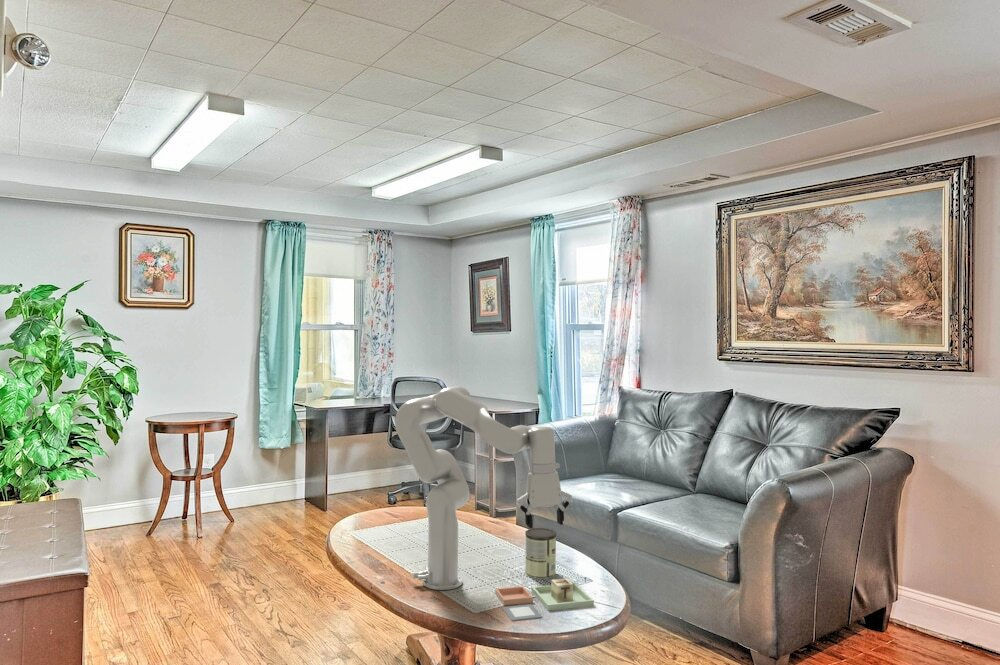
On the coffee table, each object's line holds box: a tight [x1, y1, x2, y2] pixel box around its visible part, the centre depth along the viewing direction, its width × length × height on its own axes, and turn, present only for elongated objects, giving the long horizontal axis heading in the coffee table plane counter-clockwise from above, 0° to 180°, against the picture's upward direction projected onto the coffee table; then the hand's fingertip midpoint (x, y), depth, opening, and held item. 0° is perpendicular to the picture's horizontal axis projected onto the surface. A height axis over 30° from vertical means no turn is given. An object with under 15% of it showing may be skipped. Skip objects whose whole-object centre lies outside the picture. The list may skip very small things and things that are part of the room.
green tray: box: [530, 582, 595, 611], centre depth 210 cm, size 14×14×2 cm
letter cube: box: [550, 578, 573, 602], centre depth 210 cm, size 5×5×5 cm
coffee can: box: [524, 527, 557, 580], centre depth 232 cm, size 10×10×14 cm
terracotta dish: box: [494, 585, 534, 606], centre depth 210 cm, size 9×9×2 cm
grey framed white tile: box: [502, 603, 543, 622], centre depth 199 cm, size 9×9×1 cm
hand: (544, 525), depth 210 cm, fingers open, 9 cm apart
